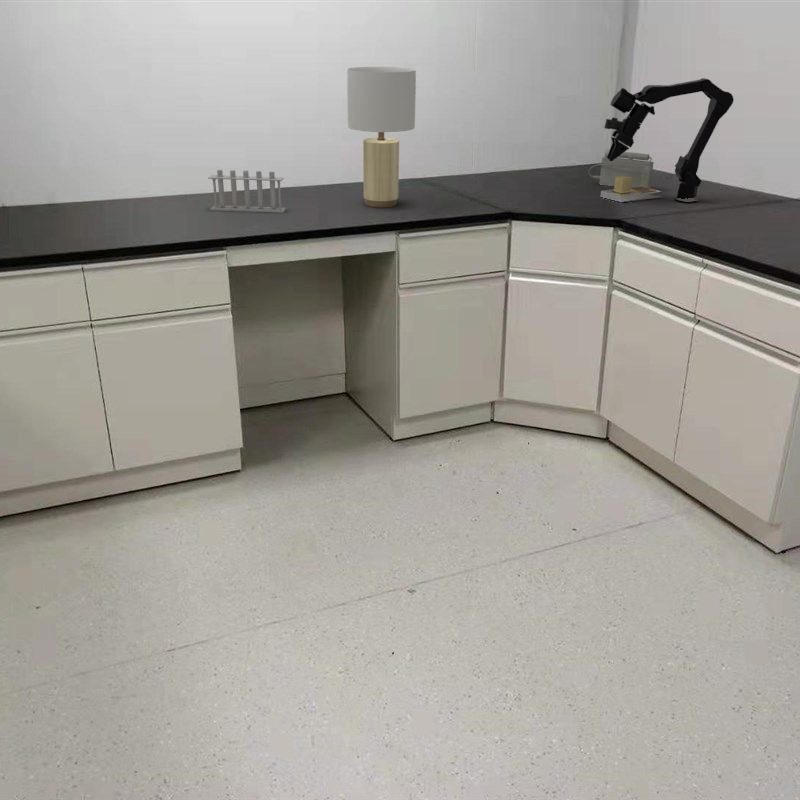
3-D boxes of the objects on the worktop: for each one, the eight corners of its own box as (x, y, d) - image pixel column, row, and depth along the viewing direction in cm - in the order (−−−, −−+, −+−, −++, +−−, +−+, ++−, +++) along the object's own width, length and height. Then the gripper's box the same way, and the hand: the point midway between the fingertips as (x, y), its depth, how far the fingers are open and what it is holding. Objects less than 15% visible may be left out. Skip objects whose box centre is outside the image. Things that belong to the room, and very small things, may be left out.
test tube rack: (210, 210, 282) (207, 170, 276) (214, 207, 286) (210, 168, 280) (283, 213, 280) (281, 173, 275) (285, 210, 284) (283, 170, 279)
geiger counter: (656, 153, 317) (594, 146, 329) (651, 155, 312) (588, 148, 324) (651, 190, 323) (589, 182, 335) (646, 192, 318) (584, 184, 330)
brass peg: (620, 197, 310) (623, 175, 306) (628, 199, 306) (631, 177, 303) (612, 198, 308) (615, 176, 304) (620, 200, 305) (623, 178, 301)
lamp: (420, 200, 301) (424, 68, 281) (401, 214, 281) (404, 73, 262) (361, 195, 307) (361, 65, 287) (339, 208, 287) (336, 70, 268)
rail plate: (640, 192, 318) (641, 185, 317) (661, 198, 309) (662, 190, 308) (600, 197, 309) (601, 189, 308) (620, 203, 301) (621, 195, 299)
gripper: (612, 107, 301) (588, 146, 307) (617, 109, 284) (591, 150, 290) (638, 123, 302) (613, 161, 308) (645, 125, 285) (618, 166, 291)
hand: (608, 159), depth 299 cm, fingers open, 9 cm apart
